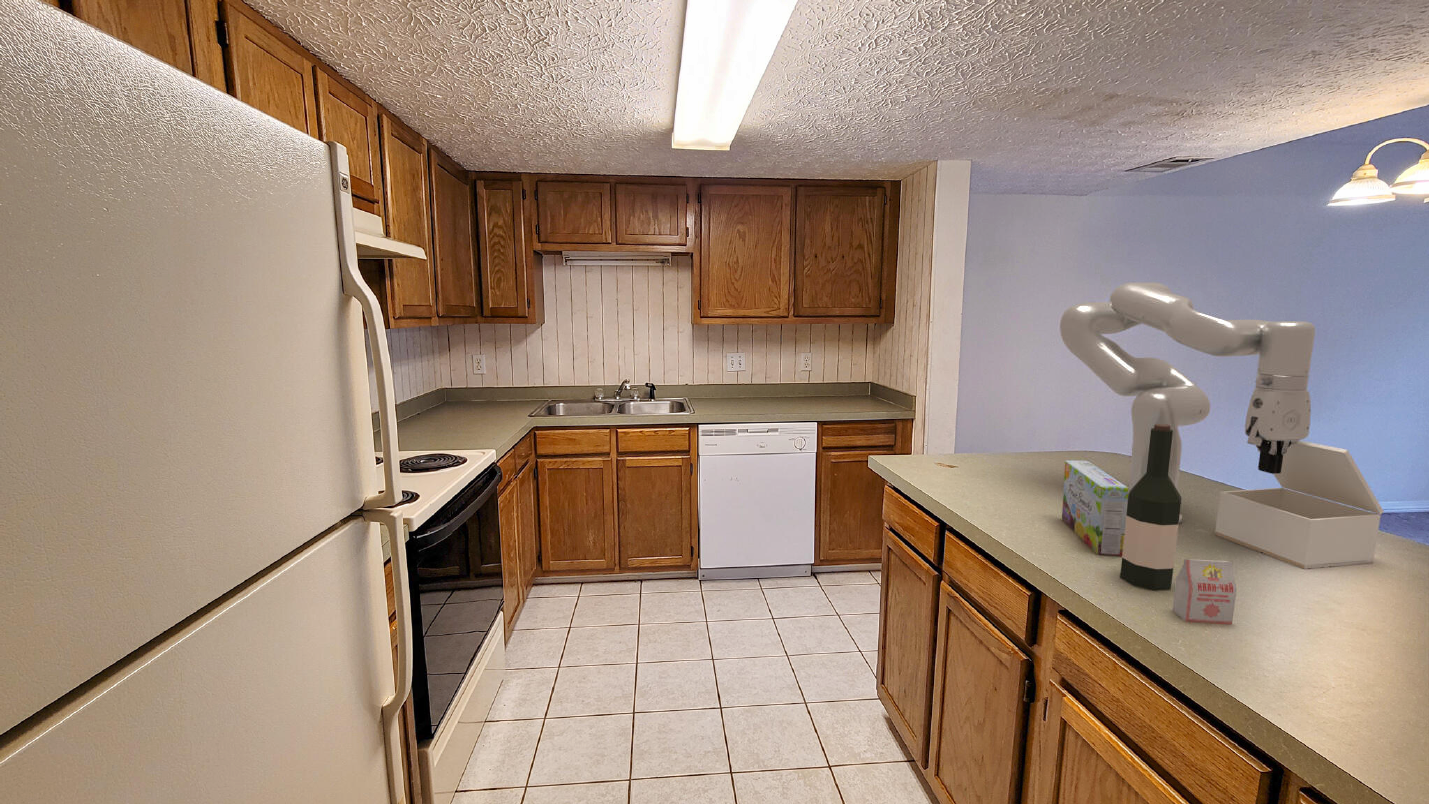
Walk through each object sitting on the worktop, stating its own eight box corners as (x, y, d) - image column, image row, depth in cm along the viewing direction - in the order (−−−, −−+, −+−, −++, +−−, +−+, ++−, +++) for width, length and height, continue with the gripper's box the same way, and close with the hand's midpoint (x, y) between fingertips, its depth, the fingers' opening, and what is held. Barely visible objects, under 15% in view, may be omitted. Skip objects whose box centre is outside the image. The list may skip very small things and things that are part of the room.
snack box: (1058, 519, 144) (1063, 459, 142) (1084, 520, 143) (1089, 460, 140) (1095, 555, 123) (1101, 485, 121) (1125, 557, 122) (1132, 486, 120)
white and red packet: (1172, 610, 101) (1178, 554, 100) (1217, 613, 100) (1224, 557, 98) (1185, 621, 98) (1192, 564, 96) (1231, 624, 96) (1239, 566, 95)
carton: (1304, 569, 116) (1311, 520, 114) (1214, 534, 133) (1220, 491, 132) (1372, 563, 118) (1380, 515, 116) (1275, 529, 135) (1281, 487, 134)
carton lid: (1344, 452, 113) (1347, 449, 113) (1247, 433, 130) (1250, 430, 130) (1380, 514, 116) (1383, 511, 116) (1281, 487, 134) (1284, 484, 134)
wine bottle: (1158, 595, 106) (1176, 431, 101) (1109, 576, 114) (1124, 423, 109) (1182, 584, 110) (1201, 426, 105) (1134, 567, 117) (1149, 419, 112)
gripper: (1267, 386, 114) (1255, 478, 117) (1334, 384, 116) (1321, 475, 119) (1229, 382, 121) (1219, 468, 124) (1293, 380, 123) (1281, 465, 126)
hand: (1269, 471), depth 122 cm, fingers closed
